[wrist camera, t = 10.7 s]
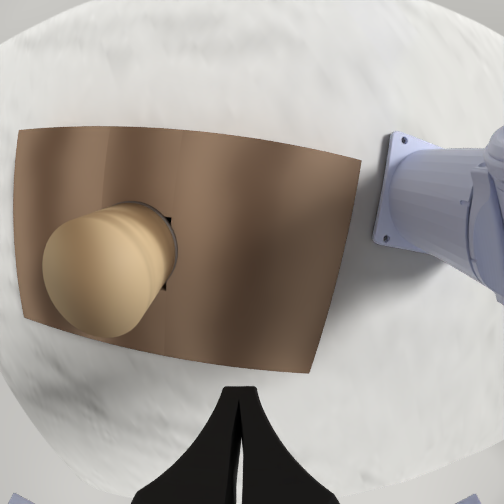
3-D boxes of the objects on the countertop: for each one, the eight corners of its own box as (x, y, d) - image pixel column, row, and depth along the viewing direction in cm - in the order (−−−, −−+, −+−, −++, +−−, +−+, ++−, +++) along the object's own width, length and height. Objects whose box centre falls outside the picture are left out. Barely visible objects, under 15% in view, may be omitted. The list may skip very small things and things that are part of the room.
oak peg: (191, 201, 18) (152, 226, 10) (182, 283, 20) (148, 350, 12) (112, 192, 18) (39, 210, 10) (109, 270, 19) (48, 323, 12)
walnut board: (344, 161, 18) (361, 160, 15) (302, 349, 22) (309, 373, 19) (42, 132, 17) (18, 130, 14) (43, 302, 20) (24, 317, 18)
